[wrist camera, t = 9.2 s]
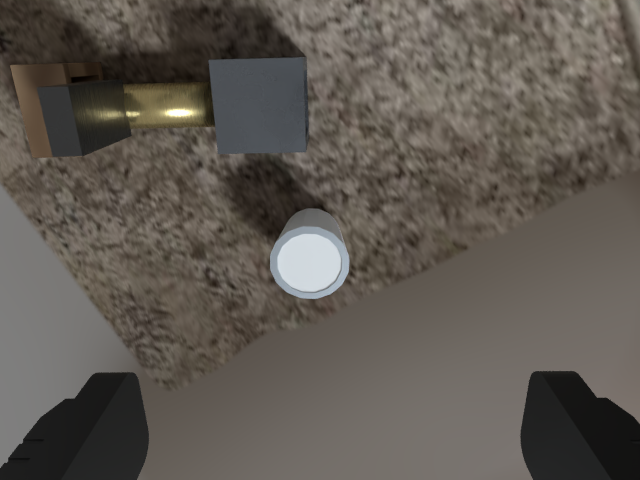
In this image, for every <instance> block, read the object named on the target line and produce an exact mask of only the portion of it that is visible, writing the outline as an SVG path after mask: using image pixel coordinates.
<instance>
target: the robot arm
mask: <svg viewBox="0 0 640 480" xmlns="http://www.w3.org/2000/svg"><path fill="white" fill-rule="evenodd" d="M148 444H149V433H148V426H147V421H146V416H145V410H144V405H143V400H142V395H141V390H140V385H139V380H138V377H137V376H136V374H135V373H132V372H131V373H130V372H127V373H126V372H125V373H124V372H122V373H95V374H93V375H92V376H91V377H90V378H89V380H88V381H87V383H86V384H85V385H84V387H83V388H82V389H81V391H80V392H79V393H78V395H77V396H76V397H75V399H65V400H63V401H62V402H61V403H59V404H58V405H57V406H55V407H54V408H53V409H51V410H50V411H49V412H47V413H46V414H44V415H43V416H42V417H41V418H40V419H39V420H38V421H37V423H36V424H35V425H34V426H33V428H32V429H31V430H30V431H29V433H28V434H27V435H26V436H25V438H24V439H23V443H22V444H19V445H18V447H17V448H16V449H15V450H14V452H13V453H12V454H11V455H10V457H9V458H8V462H7V463H4V464H3V466H2V467H1V468H0V480H137V478H138V476H139V474H140V472H141V469H142V467H143V465H144V462H145V459H146V456H147V450H148ZM521 448H522V453H523V457H524V460H525V463H526V465H527V468H528V470H529V472H530V474H531V476H532V478H533V480H640V424H639V423H638V422H637V420H636V419H635V418H634V417H633V416H632V415H630V414H629V413H627V412H626V411H625V410H623V409H622V408H620V407H619V406H618V405H616V404H615V403H613V402H612V401H611V400H609V399H608V398H597V397H596V396H595V395H594V393H593V392H592V391H591V389H590V388H589V387H588V386H587V384H586V383H585V382H584V380H583V379H582V378H581V377H580V376H579V374H577V373H576V372H574V371H536V372H533V373H532V375H531V377H530V380H529V386H528V392H527V398H526V404H525V409H524V415H523V421H522V427H521Z"/></svg>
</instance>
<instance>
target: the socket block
mask: <svg viewBox="0 0 640 480" xmlns="http://www.w3.org/2000/svg"><path fill="white" fill-rule="evenodd" d="M10 68H11V72H12V76H13V80H14V84H15V88H16V92H17V96H18V100H19V104H20V108H21V112H22V116H23V120H24V124H25V128H26V132H27V136H28V140H29V145H30V149H31V153H32V157H33V158H45V157H52V152H51V148H50V144H49V139H48V135H47V131H46V126H45V122H44V118H43V113H42V109H41V105H40V100H39V96H38V92H37V87H44V86H52V85H61V84H69V83H78V82H86V81H95V80H104V78H103V72H102V67H101V62H88V63H51V64H25V65H10ZM108 146H109V145H108ZM96 151H97V150H96ZM89 154H90V153H89ZM84 156H85V155H84ZM76 157H82V156H76Z"/></svg>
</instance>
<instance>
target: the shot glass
mask: <svg viewBox="0 0 640 480" xmlns="http://www.w3.org/2000/svg"><path fill="white" fill-rule="evenodd" d="M270 270H271V272H272V274H273V276H274V278H275V280H276V283H277V284H279V285H280V286H281V287H282V288H283V289H284V290H285V291H286V292H287V293H290V294H292V295H295V296H297V297H300V298H311V299H317V298H320V297H323V296H326V295H329V294H331V293H332V292H334V291H335V290H336V289H337V288H338V287H340V286H341V285H342V284H343V282H344V280H345V278H346V276H347V274H348V272H349V255H348V252H347V249H346V246H345V243H344V240H343V237H342V234H341V231H340V229H339V226H338V223H337V221H336V220H335V219H334V218H333V217H332V216H331V215H330V214H329V213H327V212H325V211H323V210H320V209H313V208H307V209H304V210H301V211H298V212H296V213H295V214H294V215H293V216H292V217H291V218H290V219H289V220H288V222H287V223H286V225H285V227H284V229H283V231H282V232H281V234H280V236H279V238H278V239H277V241H276V243H275V246H274V248H273V250H272V252H271V255H270Z"/></svg>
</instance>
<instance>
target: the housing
mask: <svg viewBox="0 0 640 480" xmlns="http://www.w3.org/2000/svg"><path fill="white" fill-rule="evenodd" d="M208 61H209V70H210V80H211V90H212V99H213V109H214V119H215V128H216V138H217V148H218V154H237V153H285V152H306V150H307V145H308V141H309V119H308V88H307V58H306V57H280V58H241V59H216V60H208Z"/></svg>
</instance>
